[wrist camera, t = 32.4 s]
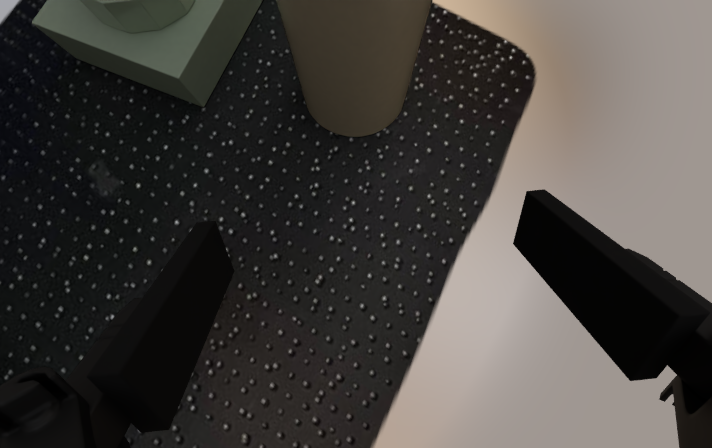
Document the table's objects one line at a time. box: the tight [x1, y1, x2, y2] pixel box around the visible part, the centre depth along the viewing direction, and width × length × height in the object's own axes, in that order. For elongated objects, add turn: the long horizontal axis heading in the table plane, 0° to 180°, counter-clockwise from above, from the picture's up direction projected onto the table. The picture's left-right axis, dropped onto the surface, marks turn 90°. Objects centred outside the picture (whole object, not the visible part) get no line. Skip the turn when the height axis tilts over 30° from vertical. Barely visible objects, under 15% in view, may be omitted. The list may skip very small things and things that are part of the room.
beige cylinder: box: [276, 0, 432, 137], centre depth 14 cm, size 7×7×13 cm
